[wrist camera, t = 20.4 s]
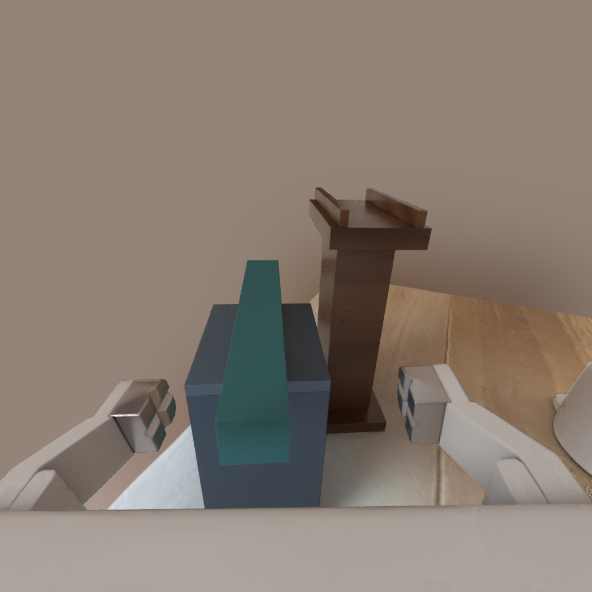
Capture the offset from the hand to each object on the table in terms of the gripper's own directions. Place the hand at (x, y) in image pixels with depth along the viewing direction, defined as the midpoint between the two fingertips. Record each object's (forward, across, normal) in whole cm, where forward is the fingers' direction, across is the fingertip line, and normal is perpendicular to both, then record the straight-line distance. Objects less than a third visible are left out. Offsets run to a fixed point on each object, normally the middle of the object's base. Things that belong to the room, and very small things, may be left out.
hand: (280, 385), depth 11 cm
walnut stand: (+25, -3, +27) cm, 37 cm away
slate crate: (+12, +6, +25) cm, 28 cm away
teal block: (+13, +4, +8) cm, 15 cm away
